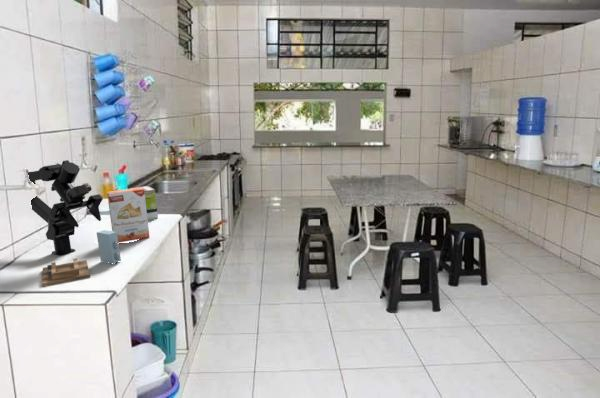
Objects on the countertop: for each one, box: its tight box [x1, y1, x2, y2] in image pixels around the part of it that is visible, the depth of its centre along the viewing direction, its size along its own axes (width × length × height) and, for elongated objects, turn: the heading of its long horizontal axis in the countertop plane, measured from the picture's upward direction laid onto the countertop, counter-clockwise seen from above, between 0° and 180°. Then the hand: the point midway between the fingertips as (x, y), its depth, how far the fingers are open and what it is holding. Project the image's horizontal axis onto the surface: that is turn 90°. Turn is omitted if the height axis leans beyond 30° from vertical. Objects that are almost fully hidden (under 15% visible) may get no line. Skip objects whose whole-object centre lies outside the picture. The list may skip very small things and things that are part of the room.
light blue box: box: [96, 229, 122, 265], centre depth 170 cm, size 8×3×11 cm, turn 58°
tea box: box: [128, 185, 159, 221], centre depth 238 cm, size 15×10×15 cm, turn 30°
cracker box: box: [106, 187, 150, 244], centre depth 198 cm, size 14×6×21 cm, turn 117°
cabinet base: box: [41, 258, 91, 288], centre depth 162 cm, size 18×14×3 cm
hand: (89, 223), depth 174 cm, fingers open, 9 cm apart
